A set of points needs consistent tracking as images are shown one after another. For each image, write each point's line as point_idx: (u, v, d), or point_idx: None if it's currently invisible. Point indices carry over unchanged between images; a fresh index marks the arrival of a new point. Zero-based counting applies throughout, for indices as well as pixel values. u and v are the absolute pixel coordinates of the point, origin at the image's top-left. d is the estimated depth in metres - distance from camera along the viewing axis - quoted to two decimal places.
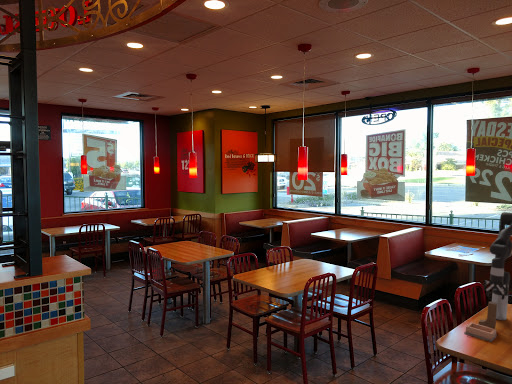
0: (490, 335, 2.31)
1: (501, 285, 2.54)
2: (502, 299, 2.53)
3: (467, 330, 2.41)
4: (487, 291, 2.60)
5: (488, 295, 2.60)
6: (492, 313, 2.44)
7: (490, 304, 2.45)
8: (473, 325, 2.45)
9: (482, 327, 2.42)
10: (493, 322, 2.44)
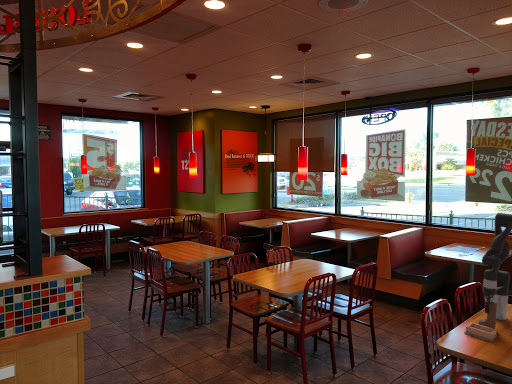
0: (490, 335, 2.31)
1: (492, 295, 2.49)
2: None
3: (467, 330, 2.41)
4: (488, 308, 2.45)
5: None
6: (491, 313, 2.44)
7: (490, 304, 2.45)
8: (473, 325, 2.45)
9: (482, 327, 2.42)
10: (493, 322, 2.44)
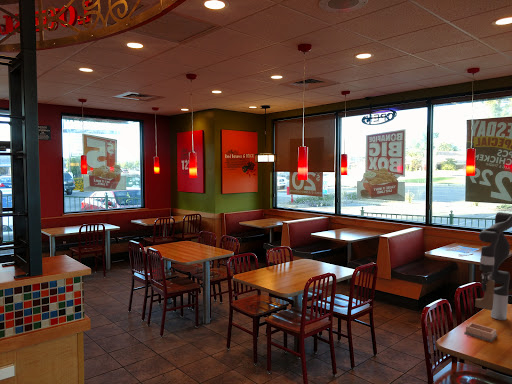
0: (490, 335, 2.31)
1: (489, 273, 2.40)
2: None
3: (467, 330, 2.41)
4: None
5: None
6: (489, 291, 2.36)
7: None
8: (473, 325, 2.45)
9: (482, 327, 2.42)
10: (490, 300, 2.35)
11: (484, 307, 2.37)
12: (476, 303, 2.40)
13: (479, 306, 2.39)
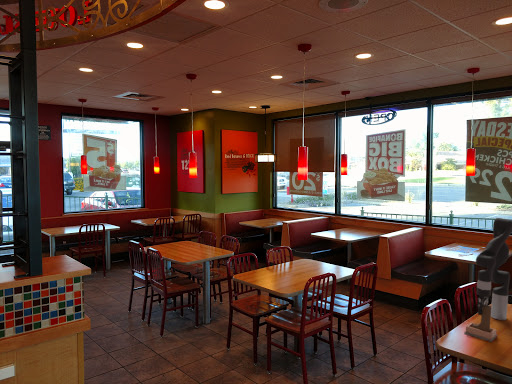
0: (490, 335, 2.31)
1: (486, 297, 2.39)
2: None
3: (467, 330, 2.41)
4: (482, 309, 2.34)
5: None
6: (485, 317, 2.35)
7: (484, 307, 2.36)
8: None
9: None
10: (487, 326, 2.35)
11: None
12: None
13: None
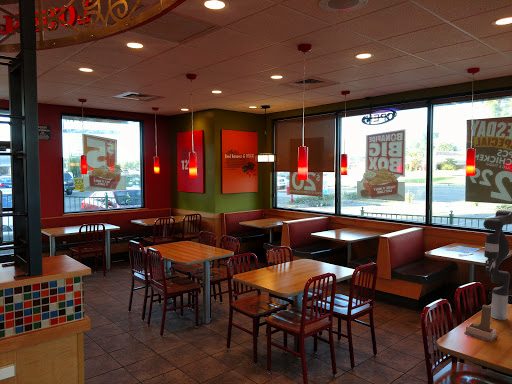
0: (490, 335, 2.31)
1: (494, 260, 2.45)
2: (493, 273, 2.47)
3: (467, 330, 2.41)
4: (490, 271, 2.40)
5: None
6: (485, 317, 2.35)
7: (484, 307, 2.36)
8: None
9: None
10: (487, 326, 2.35)
11: None
12: None
13: None
